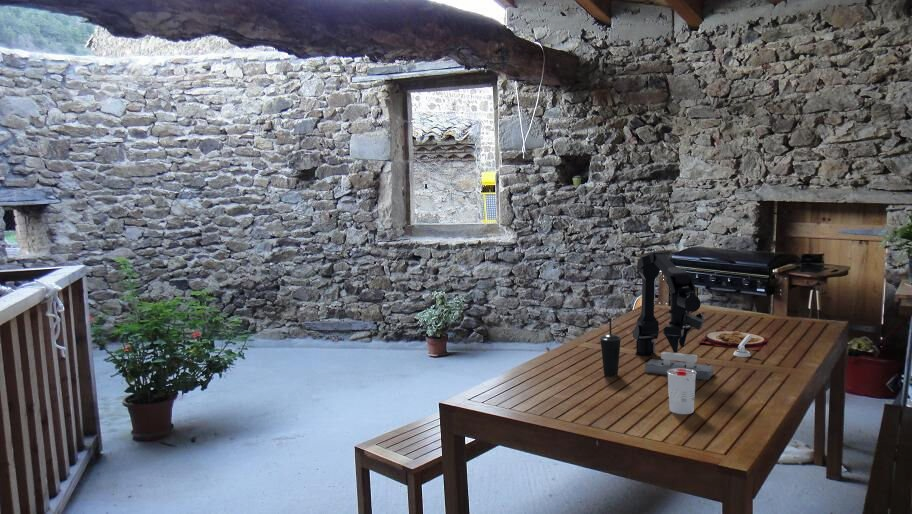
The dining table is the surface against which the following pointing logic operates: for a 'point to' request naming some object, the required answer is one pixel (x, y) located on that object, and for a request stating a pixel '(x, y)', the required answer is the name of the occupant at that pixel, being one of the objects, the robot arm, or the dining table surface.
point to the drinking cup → (610, 352)
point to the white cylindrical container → (681, 390)
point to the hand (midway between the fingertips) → (678, 349)
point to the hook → (743, 348)
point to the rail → (658, 367)
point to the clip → (679, 358)
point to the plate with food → (733, 339)
